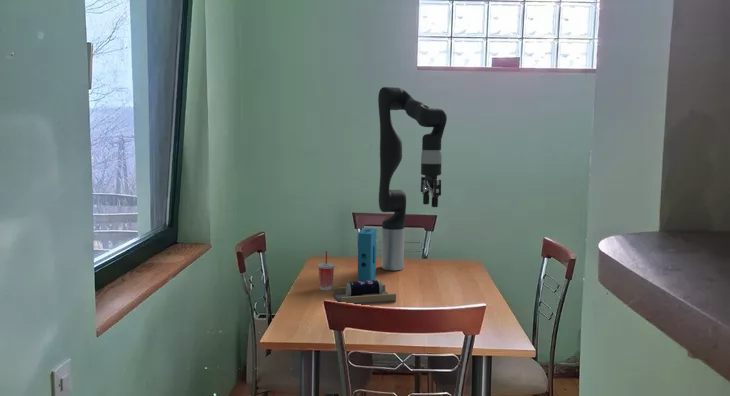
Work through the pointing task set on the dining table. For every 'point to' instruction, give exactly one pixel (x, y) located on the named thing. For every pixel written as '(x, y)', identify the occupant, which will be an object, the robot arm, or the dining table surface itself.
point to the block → (367, 254)
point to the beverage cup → (326, 275)
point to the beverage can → (363, 288)
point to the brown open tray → (363, 297)
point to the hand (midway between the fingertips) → (430, 205)
